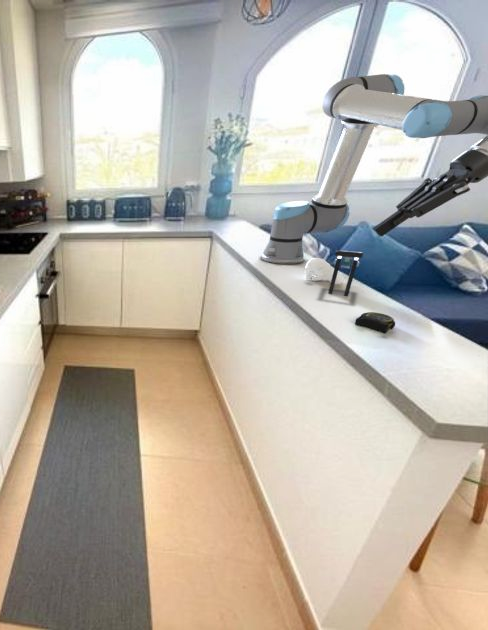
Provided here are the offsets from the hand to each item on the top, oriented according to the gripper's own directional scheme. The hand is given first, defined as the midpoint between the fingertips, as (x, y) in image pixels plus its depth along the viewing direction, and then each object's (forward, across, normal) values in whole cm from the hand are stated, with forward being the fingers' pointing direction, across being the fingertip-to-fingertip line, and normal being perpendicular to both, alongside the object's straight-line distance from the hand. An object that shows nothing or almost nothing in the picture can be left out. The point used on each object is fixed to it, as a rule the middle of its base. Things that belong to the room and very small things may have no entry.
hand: (377, 232), depth 92 cm
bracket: (+16, +9, -15) cm, 24 cm away
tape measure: (+17, -15, -14) cm, 27 cm away
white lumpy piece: (+16, +21, -15) cm, 31 cm away
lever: (+9, +4, -5) cm, 11 cm away
